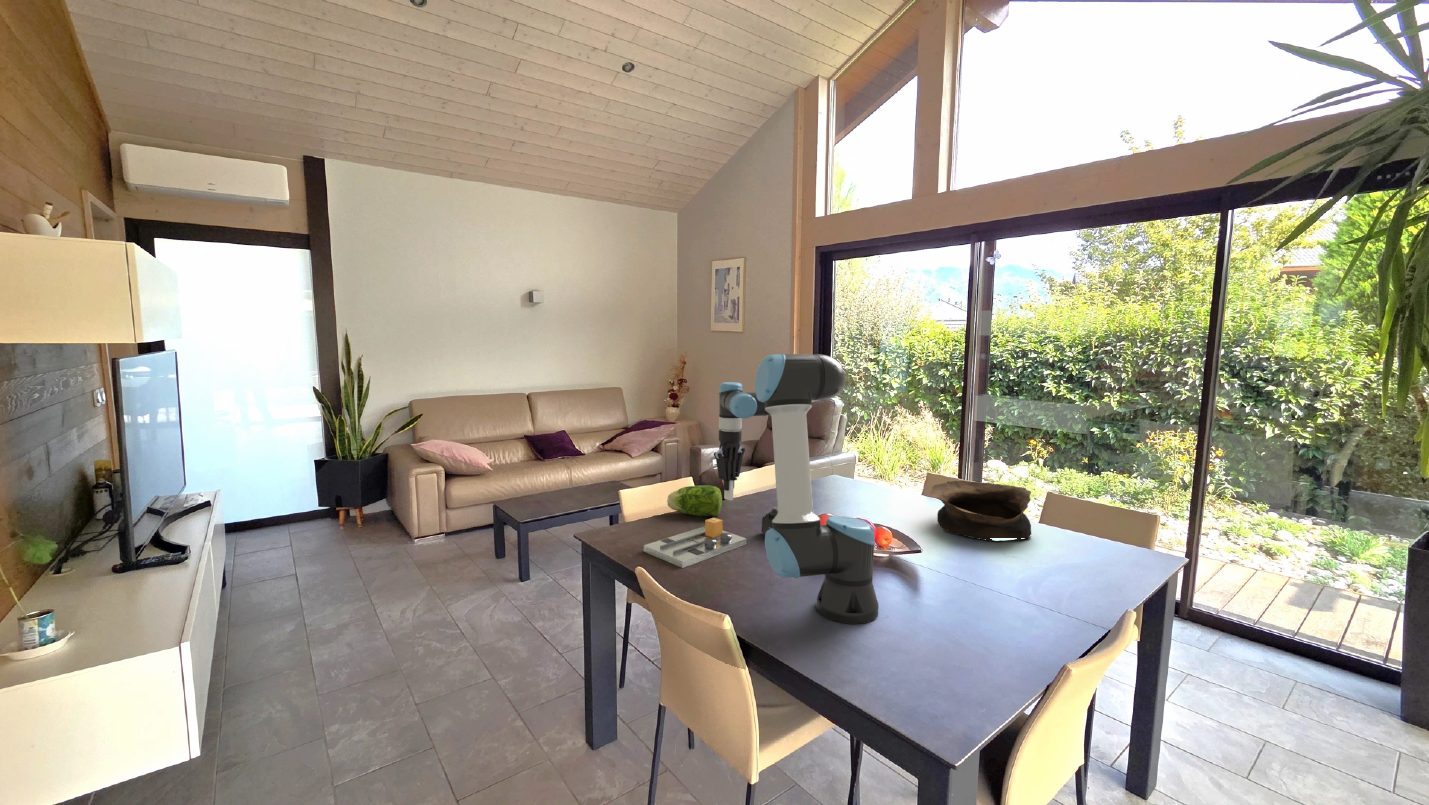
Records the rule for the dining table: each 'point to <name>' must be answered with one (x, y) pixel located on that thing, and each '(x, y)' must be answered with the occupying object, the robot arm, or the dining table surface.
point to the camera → (769, 520)
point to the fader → (713, 527)
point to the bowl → (983, 509)
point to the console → (693, 546)
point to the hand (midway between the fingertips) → (728, 499)
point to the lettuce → (696, 500)
